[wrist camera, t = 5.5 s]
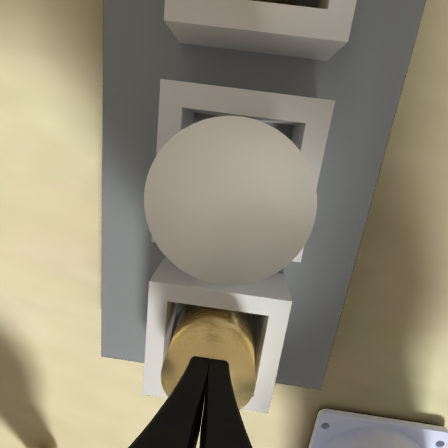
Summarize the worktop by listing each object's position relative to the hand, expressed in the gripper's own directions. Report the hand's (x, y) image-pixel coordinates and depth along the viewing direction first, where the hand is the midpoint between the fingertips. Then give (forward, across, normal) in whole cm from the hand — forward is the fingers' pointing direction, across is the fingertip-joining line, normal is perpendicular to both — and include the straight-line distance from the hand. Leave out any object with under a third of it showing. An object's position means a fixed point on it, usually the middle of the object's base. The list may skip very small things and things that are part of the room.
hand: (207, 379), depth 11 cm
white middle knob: (+1, 0, -8) cm, 8 cm away
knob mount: (+6, 0, -8) cm, 10 cm away
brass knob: (+4, 0, 0) cm, 4 cm away
